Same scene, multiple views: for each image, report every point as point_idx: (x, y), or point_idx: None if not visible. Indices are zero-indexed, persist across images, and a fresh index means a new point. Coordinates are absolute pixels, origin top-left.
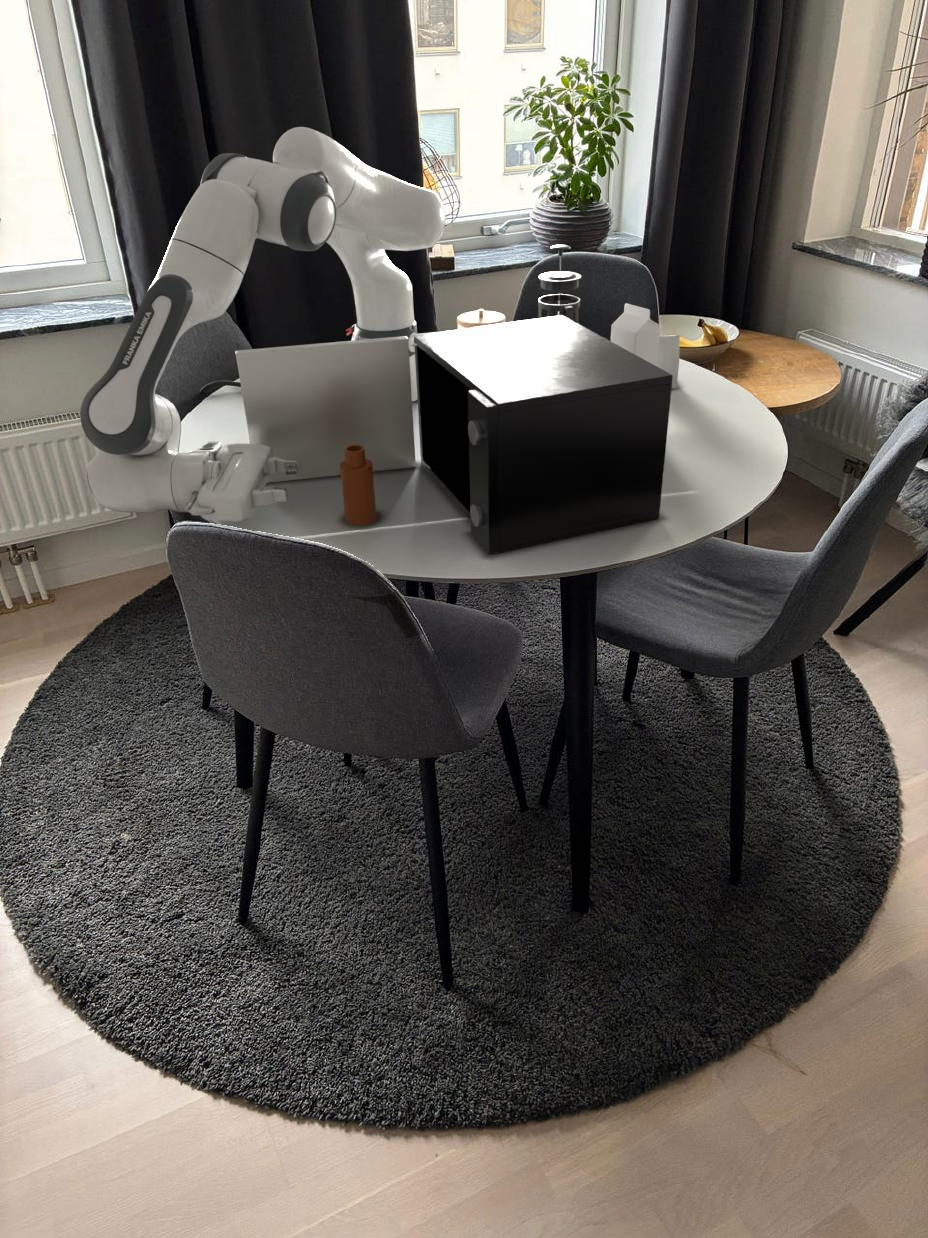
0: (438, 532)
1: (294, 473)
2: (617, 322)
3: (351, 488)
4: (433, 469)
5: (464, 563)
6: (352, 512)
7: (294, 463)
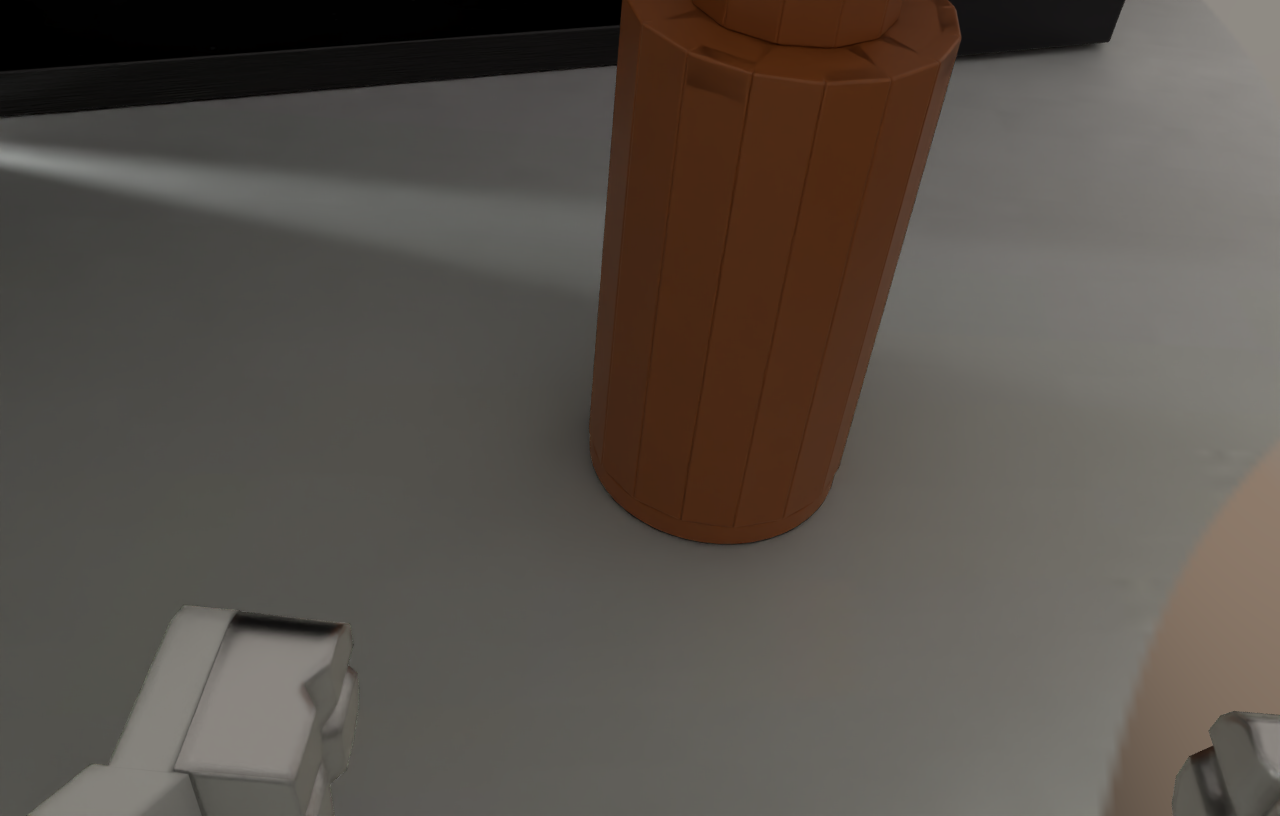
0: None
1: (354, 729)
2: None
3: (911, 212)
4: (112, 55)
5: (1204, 113)
6: (849, 412)
7: (291, 623)
